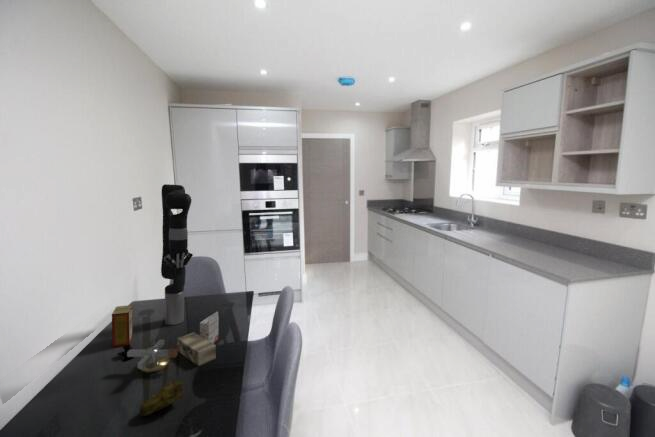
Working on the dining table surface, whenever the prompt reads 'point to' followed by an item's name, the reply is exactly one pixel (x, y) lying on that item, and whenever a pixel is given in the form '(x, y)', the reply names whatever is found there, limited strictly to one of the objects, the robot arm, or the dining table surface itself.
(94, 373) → the dining table surface
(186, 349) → the cardboard box
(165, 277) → the robot arm
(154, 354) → the capstan
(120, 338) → the baking soda box
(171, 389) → the potato
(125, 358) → the black angular block
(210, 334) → the ink cartridge box
